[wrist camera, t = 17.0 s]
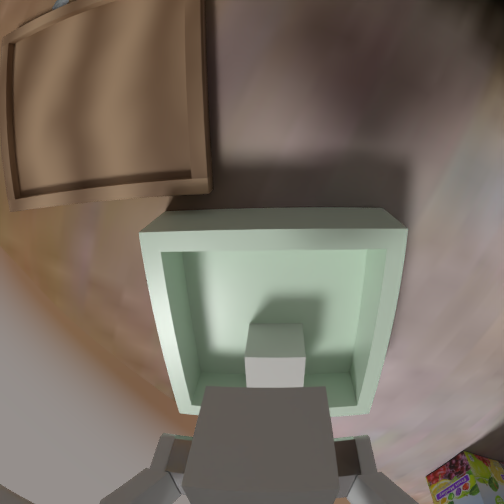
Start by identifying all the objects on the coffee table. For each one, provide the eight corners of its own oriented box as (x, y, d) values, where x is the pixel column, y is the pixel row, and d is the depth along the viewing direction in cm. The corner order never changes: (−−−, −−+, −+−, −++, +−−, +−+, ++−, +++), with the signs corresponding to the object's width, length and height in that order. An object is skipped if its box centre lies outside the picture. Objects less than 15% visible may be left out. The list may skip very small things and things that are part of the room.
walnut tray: (205, -25, 15) (200, -35, 14) (213, 189, 21) (208, 193, 20) (13, 39, 17) (2, 37, 15) (21, 207, 23) (10, 211, 21)
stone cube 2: (325, 385, 10) (340, 488, 6) (314, 449, 11) (320, 531, 7) (205, 385, 10) (181, 485, 6) (218, 448, 11) (205, 528, 8)
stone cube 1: (302, 323, 24) (305, 357, 20) (300, 362, 25) (302, 397, 21) (249, 323, 24) (244, 357, 20) (251, 362, 25) (247, 397, 22)
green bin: (382, 207, 21) (408, 228, 16) (358, 374, 26) (368, 413, 22) (165, 211, 22) (138, 232, 18) (191, 375, 27) (179, 413, 23)
